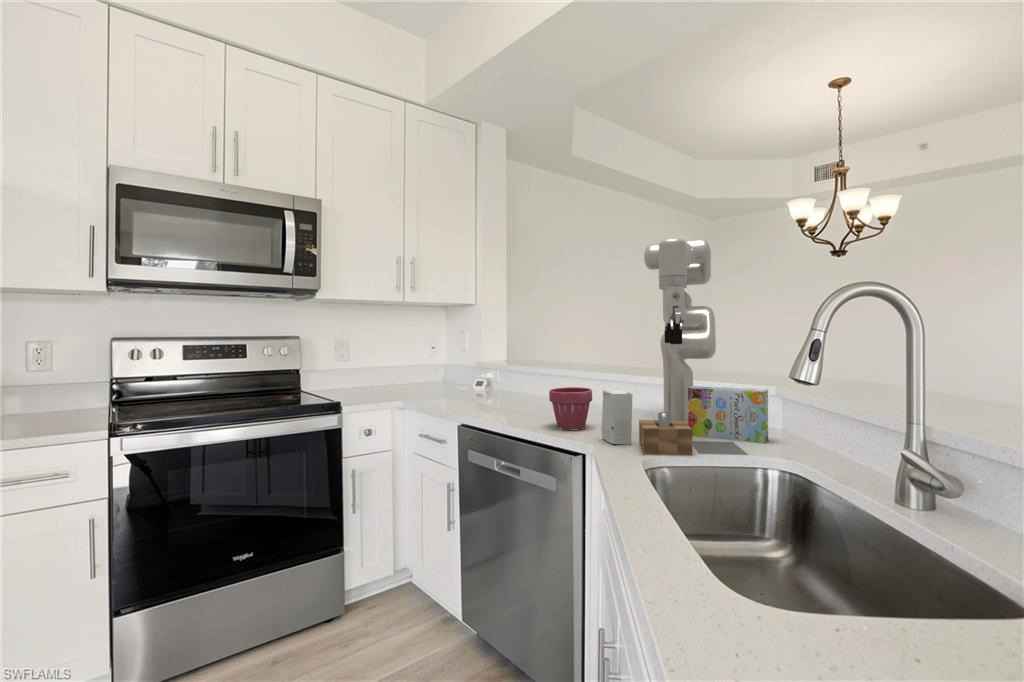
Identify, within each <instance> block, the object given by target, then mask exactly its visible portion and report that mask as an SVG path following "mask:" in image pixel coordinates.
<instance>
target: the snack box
mask: <svg viewBox="0 0 1024 682" xmlns="http://www.w3.org/2000/svg"><path fill="white" fill-rule="evenodd" d="M688 426H689V427H690V428H691V429H692V437H693V436H695V437H700V438H701V437H702V438H711V439H721V440H731V441H738V442H739V441H740V442H747V443H758V444H767V442H768V441H769V390H768V389H765V388H743V387H727V386H723V387H721V386H720V387H719V386H697V385H693V386H692V387H689V388H688Z"/></svg>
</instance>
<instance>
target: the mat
mask: <svg viewBox="0 0 1024 682" xmlns="http://www.w3.org/2000/svg"><path fill="white" fill-rule="evenodd" d="M692 448H693V449H695V451H696V452H697V453H698V455H731V456H732V455H735V456H736V455H737V456H739V455H740V456H741V455H742V456H745V455H746V456H749V453H747V452H746V451H745V450H744V449H742V448H741V447H740V446H739V445H737V444H736V442H733V441H708V440H706V441H704V440H703V441H701V440H696V441H695V440H692Z"/></svg>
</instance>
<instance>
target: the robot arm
mask: <svg viewBox="0 0 1024 682" xmlns="http://www.w3.org/2000/svg"><path fill="white" fill-rule="evenodd" d="M643 258H644V259H643V260H644V264H645V267H646V269H648V270H650V271H652V270H656V271H657V270H658V289H659V290H662V318H663V323H664V333H663V334H662V335H661V337H660V350H661V356H662V365H663V367H662V368H663V370H662V371H663V373H662V374H663V412H666V413H670V420H678V421H684V422H685V423H686V424H687V425H688V388H689V387H692V386H694V373H693V369H692V367H690V365H689V364H688V363H687V362H686V361H685V360H689V359H691V360H702V359H703V360H705V359H706V360H708V359H710V358H713V357H714V355H716V350H717V349H716V348H717V347H716V346H717V342H716V341H717V340H716V339H717V337H716V318H715V312H714V311H713V309H712V307H710V306H706V305H698V306H697V305H693V304H692V303H693V302H692V301H693V299H692V297H691V296H690V294H689V293H688V292H687V291H686V290H685V289H687V288H688V287H687V286H695V285H696V286H697V285H700V286H701V285H705V284H707V283H709V281H710V279H711V277H712V276H711V275H712V274H711V273H712V265H711V264H712V253H711V247H710V244H709V242H708V241H707V240H705V239H703V238H697V239H696V238H695V239H682V238H667V239H663V240H661V241H660V242H659V243H656V244H654V243H653V244H649V245H647V246H646V248H645V251H644V256H643Z"/></svg>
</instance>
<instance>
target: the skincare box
mask: <svg viewBox="0 0 1024 682" xmlns="http://www.w3.org/2000/svg"><path fill="white" fill-rule="evenodd" d="M601 416H602V417H601V419H602V420H601V439H602V438H603V439H605V440H606V441H605V440H604V441H605V442H607V441H608V442H607V443H609V442H610V443H609V444H611V443H612V444H624V445H631V444H632V424H633V423H632V422H633V393H632V392H628V391H627V390H623V389H602V414H601ZM603 439H602V440H603ZM630 443H631V444H630ZM612 444H611V445H612Z"/></svg>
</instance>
